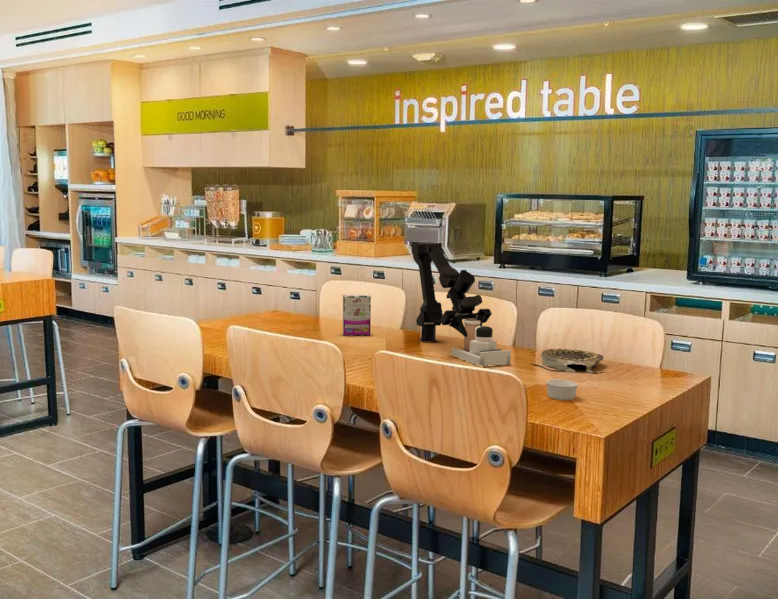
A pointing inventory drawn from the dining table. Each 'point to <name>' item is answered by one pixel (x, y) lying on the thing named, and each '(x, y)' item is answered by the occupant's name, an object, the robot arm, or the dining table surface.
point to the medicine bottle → (482, 340)
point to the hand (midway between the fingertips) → (473, 335)
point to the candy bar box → (356, 314)
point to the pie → (569, 359)
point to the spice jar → (470, 332)
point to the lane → (484, 356)
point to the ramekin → (561, 389)
